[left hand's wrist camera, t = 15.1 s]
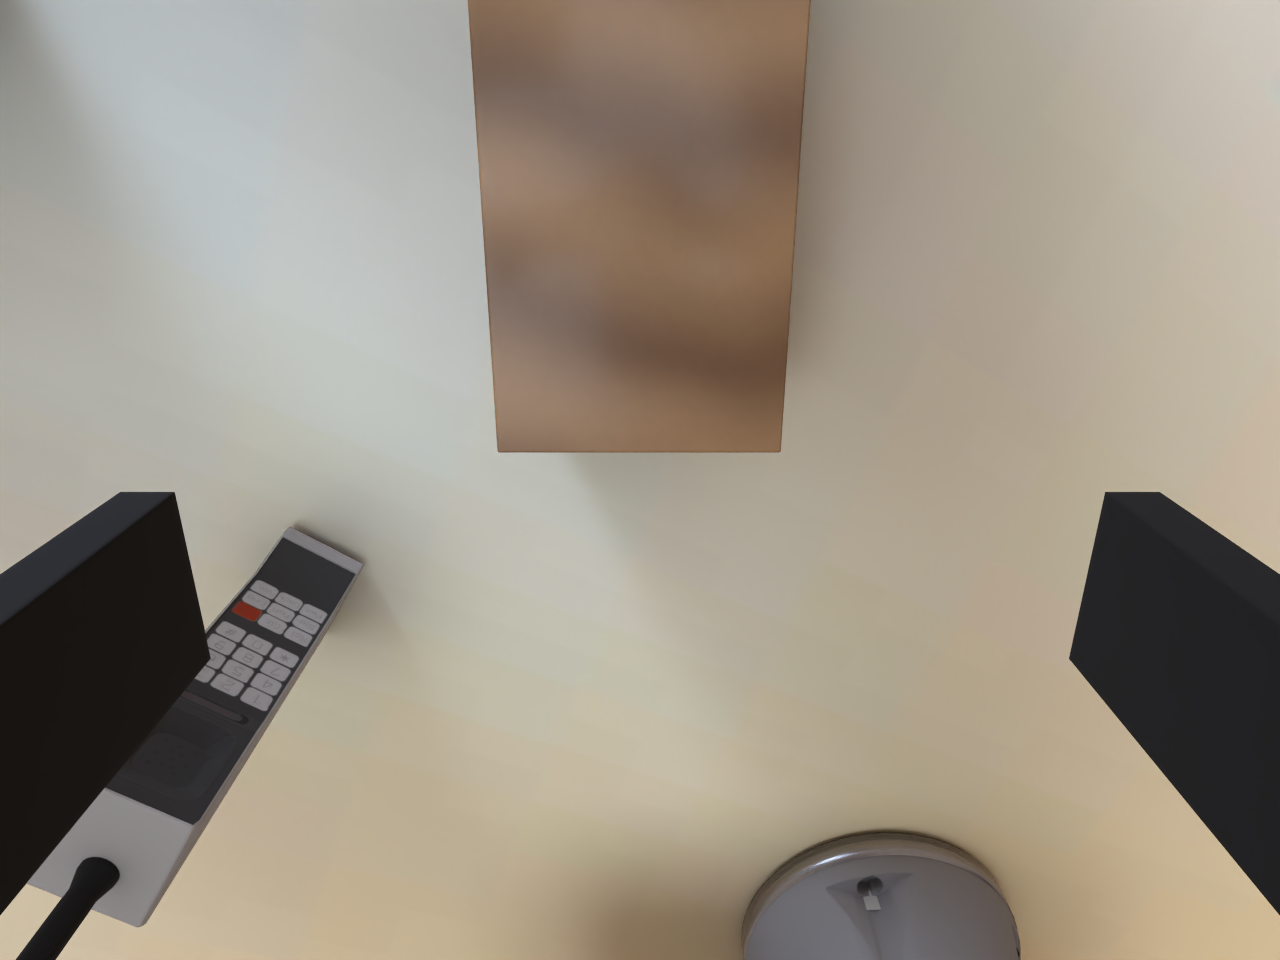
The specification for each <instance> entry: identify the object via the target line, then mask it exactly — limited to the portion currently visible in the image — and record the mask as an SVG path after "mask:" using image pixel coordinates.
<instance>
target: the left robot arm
mask: <svg viewBox="0 0 1280 960" xmlns="http://www.w3.org/2000/svg"><path fill="white" fill-rule="evenodd" d="M210 659H211V657H210V652H209V648H208V643H207V638H206V634H205V629H204V625H203V620H202V616H201V611H200V606H199V602H198V597H197V593H196V588H195V583H194V579H193V574H192V570H191V565H190V560H189V556H188V551H187V547H186V542H185V537H184V533H183V528H182V524H181V519H180V514H179V510H178V505H177V501H176V496H175V492H120V493H118V494H117V495H115V496H114V497H113V498H111V499H110V500H108V501H107V502H105V503H104V504H102V505H101V506H99V507H98V508H96V509H95V510H94V511H92V512H91V513H89V514H88V515H86V516H85V517H83V518H82V519H80V520H79V521H78V522H76V523H75V524H73V525H72V526H70V527H69V528H67V529H66V530H64V531H63V532H61V533H60V534H59V535H57V536H56V537H54V538H53V539H51V540H50V541H48V542H47V543H45V544H44V545H43V546H41V547H40V548H38V549H37V550H35V551H34V552H32V553H31V554H29V555H28V556H26V557H25V558H24V559H22V560H21V561H19V562H18V563H16V564H15V565H13V566H12V567H10V568H9V569H8V570H6V571H5V572H3V573H2V574H0V915H1V914H2V912H3V911H4V910H5V909H6V908H7V906H8V905H9V904H10V903H11V901H12V900H13V899H14V898H15V897H16V895H17V894H18V893H19V892H20V891H21V889H22V888H23V887H24V886H25V884H26V883H27V882H28V881H29V880H30V878H31V877H32V876H33V875H34V873H35V872H36V871H37V870H38V869H39V867H40V866H41V865H42V864H43V863H44V861H45V860H46V859H47V858H48V856H49V855H50V854H51V853H52V852H53V850H54V849H55V848H56V847H57V845H58V844H59V843H60V842H61V841H62V839H63V838H64V837H65V836H66V834H67V833H68V832H69V831H70V830H71V828H72V827H73V826H74V825H75V824H76V822H77V821H78V820H79V819H80V817H81V816H82V815H83V814H84V813H85V811H86V810H87V809H88V808H89V806H90V805H91V804H92V803H93V802H94V800H95V799H96V798H97V797H98V795H99V794H100V793H101V792H102V791H103V789H104V788H105V787H106V786H107V785H108V783H109V782H110V781H111V780H112V778H113V777H114V776H115V775H116V774H117V772H118V771H119V770H120V769H121V767H122V766H123V765H124V764H125V763H126V761H127V760H128V759H129V758H130V756H131V755H132V754H133V753H134V752H135V750H136V749H137V748H138V747H139V746H140V744H141V743H142V742H143V741H144V739H145V738H146V737H147V736H148V735H149V733H150V732H151V731H152V730H153V728H154V727H155V726H156V725H157V724H158V722H159V721H160V720H161V719H162V718H163V716H164V715H165V714H166V713H167V711H168V710H169V709H170V708H171V707H172V705H173V704H174V703H175V702H176V700H177V699H178V698H179V697H180V696H181V694H182V693H183V692H184V691H185V689H186V688H187V687H188V686H189V685H190V683H191V682H192V681H193V680H194V679H195V677H196V676H197V675H198V674H199V672H200V671H201V670H202V669H203V668H204V666H205V665H206V664H207V663H208V661H209V660H210ZM1069 659H1070V660H1071V661H1072V663H1073V664H1074V665H1075V666H1076V668H1077V669H1078V670H1079V671H1080V672H1081V674H1082V675H1083V676H1084V677H1085V679H1086V680H1087V681H1088V682H1089V683H1090V685H1091V686H1092V687H1093V688H1094V689H1095V691H1096V692H1097V693H1098V694H1099V696H1100V697H1101V698H1102V699H1103V700H1104V702H1105V703H1106V704H1107V705H1108V707H1109V708H1110V709H1111V710H1112V711H1113V713H1114V714H1115V715H1116V716H1117V718H1118V719H1119V720H1120V721H1121V722H1122V724H1123V725H1124V726H1125V727H1126V728H1127V730H1128V731H1129V732H1130V733H1131V735H1132V736H1133V737H1134V738H1135V739H1136V741H1137V742H1138V743H1139V744H1140V746H1141V747H1142V748H1143V749H1144V750H1145V752H1146V753H1147V754H1148V755H1149V757H1150V758H1151V759H1152V760H1153V761H1154V763H1155V764H1156V765H1157V766H1158V767H1159V769H1160V770H1161V771H1162V772H1163V774H1164V775H1165V776H1166V777H1167V778H1168V780H1169V781H1170V782H1171V783H1172V785H1173V786H1174V787H1175V788H1176V789H1177V791H1178V792H1179V793H1180V794H1181V795H1182V797H1183V798H1184V799H1185V800H1186V802H1187V803H1188V804H1189V805H1190V806H1191V808H1192V809H1193V810H1194V811H1195V813H1196V814H1197V815H1198V816H1199V817H1200V819H1201V820H1202V821H1203V822H1204V824H1205V825H1206V826H1207V827H1208V828H1209V830H1210V831H1211V832H1212V833H1213V834H1214V836H1215V837H1216V838H1217V839H1218V841H1219V842H1220V843H1221V844H1222V845H1223V847H1224V848H1225V849H1226V850H1227V852H1228V853H1229V854H1230V855H1231V856H1232V858H1233V859H1234V860H1235V861H1236V863H1237V864H1238V865H1239V866H1240V867H1241V869H1242V870H1243V871H1244V872H1245V873H1246V875H1247V876H1248V877H1249V878H1250V880H1251V881H1252V882H1253V883H1254V884H1255V886H1256V887H1257V888H1258V889H1259V891H1260V892H1261V893H1262V894H1263V895H1264V897H1265V898H1266V899H1267V900H1268V901H1269V903H1270V904H1271V905H1272V906H1273V908H1274V909H1275V910H1276V911H1277V912H1278V914H1279V915H1280V574H1278V573H1277V572H1275V571H1274V570H1272V569H1271V568H1270V567H1268V566H1267V565H1265V564H1264V563H1262V562H1261V561H1259V560H1258V559H1256V558H1255V557H1254V556H1252V555H1251V554H1249V553H1248V552H1246V551H1245V550H1243V549H1242V548H1240V547H1239V546H1237V545H1236V544H1235V543H1233V542H1232V541H1230V540H1229V539H1227V538H1226V537H1224V536H1223V535H1221V534H1220V533H1219V532H1217V531H1216V530H1214V529H1213V528H1211V527H1210V526H1208V525H1207V524H1205V523H1204V522H1202V521H1201V520H1200V519H1198V518H1197V517H1195V516H1194V515H1192V514H1191V513H1189V512H1188V511H1186V510H1185V509H1184V508H1182V507H1181V506H1179V505H1178V504H1176V503H1175V502H1173V501H1172V500H1170V499H1169V498H1167V497H1166V496H1165V495H1163V494H1162V493H1160V492H1105V496H1104V501H1103V505H1102V510H1101V514H1100V519H1099V524H1098V528H1097V533H1096V537H1095V542H1094V547H1093V551H1092V556H1091V560H1090V565H1089V570H1088V574H1087V579H1086V583H1085V588H1084V593H1083V597H1082V602H1081V606H1080V611H1079V616H1078V620H1077V625H1076V629H1075V634H1074V638H1073V643H1072V648H1071V652H1070V657H1069ZM741 942H742V953H743V960H1021V958H1020V940H1019V935H1018V932H1017V926H1016V923H1015V920H1014V916H1013V914H1012V912H1011V910H1010V908H1009V906H1008V904H1007V902H1006V899H1005V897H1004V895H1003V893H1002V891H1001V889H1000V887H999V885H998V883H997V882H996V880H995V879H994V877H993V876H992V875H991V874H990V872H989V871H988V870H987V869H986V868H985V867H984V866H983V865H982V864H981V863H980V862H978V861H977V860H976V859H974V858H973V857H972V856H970V855H969V854H967V853H965V852H964V851H962V850H960V849H958V848H956V847H954V846H952V845H950V844H947V843H944V842H941V841H939V840H935V839H931V838H928V837H923V836H918V835H912V834H901V833H875V834H865V835H858V836H852V837H848V838H843V839H840V840H836V841H833V842H829V843H827V844H824V845H821V846H819V847H816V848H814V849H812V850H810V851H807V852H805V853H804V854H802V855H800V856H798V857H796V858H795V859H793V860H792V861H790V862H789V863H787V864H786V865H784V866H783V867H782V868H780V869H779V870H778V871H777V872H776V873H774V874H773V875H772V876H771V877H770V878H769V879H768V880H767V881H766V882H765V883H764V885H763V886H762V887H761V888H760V889H759V891H758V892H757V894H756V895H755V897H754V898H753V900H752V902H751V904H750V906H749V908H748V910H747V912H746V915H745V918H744V922H743V926H742V935H741Z"/></svg>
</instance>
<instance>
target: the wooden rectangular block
mask: <svg viewBox="0 0 1280 960" xmlns="http://www.w3.org/2000/svg"><path fill="white" fill-rule="evenodd" d="M468 10H469V25H470V41H471V56H472V71H473V86H474V101H475V116H476V131H477V146H478V161H479V176H480V191H481V206H482V221H483V237H484V252H485V267H486V282H487V297H488V312H489V327H490V342H491V357H492V372H493V387H494V402H495V417H496V433H497V448H498V452H780V451H781V438H782V423H783V408H784V393H785V378H786V363H787V348H788V333H789V318H790V303H791V287H792V272H793V257H794V242H795V227H796V212H797V197H798V182H799V167H800V151H801V136H802V121H803V106H804V91H805V76H806V61H807V46H808V31H809V16H810V0H468Z"/></svg>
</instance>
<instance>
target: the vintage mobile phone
mask: <svg viewBox="0 0 1280 960" xmlns="http://www.w3.org/2000/svg"><path fill="white" fill-rule="evenodd" d="M362 567H363V564H362V563H360V562H358V561H356V560H354V559H352V558H350V557H348V556H346V555H344V554H342V553H340V552H338V551H336V550H335V549H333V548H331V547H329V546H327V545H325V544H323V543H321V542H319V541H317V540H315V539H313V538H311V537H309V536H307V535H305V534H303V533H301V532H299V531H297V530H295V529H294V528H292V527H289V528H288V529H287V530H286V531H285V533H284V534H283V535H282V536H281V537H280V539H279V540H278V542H277V543H276V544H275V546H274V547H273V549H272V550H271V551H270V553H269V554H268V556H267V557H266V558H265V560H264V561H263V563H262V564H261V565H260V567H259V568H258V570H257V571H256V572H255V574H254V575H253V576H252V577H251V578H250V579H249V581H248V582H247V583H246V584H245V585H244V586H243V588H242V589H241V590H240V591H239V592H238V593H237V595H236V596H235V597H234V598H233V599H232V600H231V601H230V603H229V604H228V605H227V606H226V607H225V608H224V610H223V611H222V612H221V613H220V614H219V615H218V617H217V618H216V619H215V620H214V621H213V622H212V623H211V625H210V626H209V627H208V628H207V629H206V630H205V634H206V638H207V643H208V648H209V652H210V657H211V659H210V660H209V661H208V663H207V664H206V665H205V666H204V668H203V669H202V670H201V671H200V672H199V674H198V675H197V676H196V677H195V679H194V680H193V681H192V682H191V683H190V685H189V686H188V687H187V688H186V689H185V691H184V692H183V693H182V694H181V696H180V697H179V698H178V699H177V700H176V702H175V703H174V704H173V705H172V707H171V708H170V709H169V710H168V711H167V713H166V714H165V715H164V716H163V718H162V719H161V720H160V721H159V722H158V724H157V725H156V726H155V727H154V728H153V730H152V731H151V732H150V733H149V735H148V736H147V737H146V738H145V739H144V741H143V742H142V743H141V744H140V746H139V747H138V748H137V749H136V750H135V752H134V753H133V754H132V755H131V756H130V758H129V759H128V760H127V761H126V763H125V764H124V765H123V766H122V767H121V769H120V770H119V771H118V772H117V774H116V775H115V776H114V777H113V778H112V780H111V781H110V782H109V783H108V785H107V786H106V787H105V788H104V789H103V791H102V792H101V793H100V794H99V795H98V797H97V798H96V799H95V800H94V802H93V803H92V804H91V805H90V806H89V808H88V809H87V810H86V811H85V813H84V814H83V815H82V816H81V817H80V819H79V820H78V821H77V822H76V824H75V825H74V826H73V827H72V828H71V830H70V831H69V832H68V833H67V834H66V836H65V837H64V838H63V839H62V841H61V842H60V843H59V844H58V845H57V847H56V848H55V849H54V850H53V852H52V853H51V854H50V855H49V856H48V858H47V859H46V860H45V861H44V863H43V864H42V865H41V866H40V867H39V869H38V870H37V871H36V872H35V873H34V875H33V876H32V877H31V878H30V880H29V881H28V882H27V884H29V885H32V886H34V887H37V888H39V889H42V890H44V891H47V892H49V893H52V894H54V895H57V896H59V897H62V899H61V900H60V901H59V903H58V904H57V905H56V907H55V908H54V909H53V911H52V912H51V913H50V915H49V916H48V917H47V919H46V920H45V921H44V923H43V924H42V925H41V927H40V928H39V929H38V931H37V932H36V933H35V935H34V936H33V937H32V939H31V940H30V941H29V943H28V944H27V945H26V947H25V948H24V949H23V951H22V952H21V953H20V955H19V956H18V957H17V959H16V960H56V958H57V957H58V955H59V954H60V953H61V951H62V950H63V948H64V947H65V945H66V944H67V943H68V941H69V940H70V938H71V937H72V935H73V934H74V933H75V931H76V930H77V928H78V927H79V925H80V924H81V923H82V921H83V920H84V918H85V917H86V916H87V914H88V913H89V911H90V910H91V909H92V910H95V911H97V912H100V913H102V914H105V915H107V916H110V917H112V918H115V919H117V920H120V921H122V922H125V923H127V924H130V925H133V926H135V927H141V926H143V925H144V924H146V922H147V921H148V919H149V918H150V916H151V914H152V913H153V911H154V910H155V908H156V906H157V905H158V903H159V902H160V900H161V898H162V897H163V895H164V893H165V892H166V890H167V889H168V887H169V885H170V884H171V882H172V881H173V879H174V877H175V876H176V874H177V873H178V871H179V869H180V868H181V866H182V864H183V863H184V861H185V860H186V858H187V856H188V855H189V853H190V852H191V850H192V848H193V847H194V845H195V844H196V842H197V840H198V839H199V837H200V835H201V834H202V832H203V831H204V829H205V827H206V826H207V824H208V823H209V821H210V819H211V818H212V816H213V815H214V813H215V811H216V810H217V808H218V806H219V805H220V803H221V802H222V800H223V798H224V797H225V795H226V794H227V792H228V790H229V789H230V787H231V786H232V784H233V782H234V781H235V779H236V777H237V776H238V774H239V773H240V771H241V769H242V768H243V766H244V765H245V763H246V761H247V760H248V758H249V756H250V755H251V753H252V752H253V750H254V748H255V747H256V745H257V744H258V742H259V740H260V739H261V737H262V736H263V734H264V732H265V731H266V729H267V727H268V726H269V724H270V723H271V721H272V719H273V718H274V716H275V715H276V713H277V711H278V710H279V708H280V707H281V705H282V703H283V702H284V700H285V698H286V697H287V695H288V694H289V692H290V690H291V689H292V687H293V686H294V684H295V682H296V681H297V679H298V678H299V676H300V674H301V673H302V671H303V669H304V668H305V666H306V665H307V663H308V661H309V660H310V658H311V657H312V655H313V653H314V652H315V650H316V649H317V647H318V645H319V644H320V642H321V640H322V639H323V637H324V635H325V633H326V631H327V630H328V628H329V626H330V624H331V623H332V621H333V619H334V617H335V615H336V614H337V612H338V610H339V608H340V607H341V605H342V603H343V601H344V599H345V598H346V596H347V594H348V592H349V590H350V589H351V587H352V585H353V583H354V582H355V580H356V578H357V576H358V574H359V573H360V571H361V569H362Z"/></svg>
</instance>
